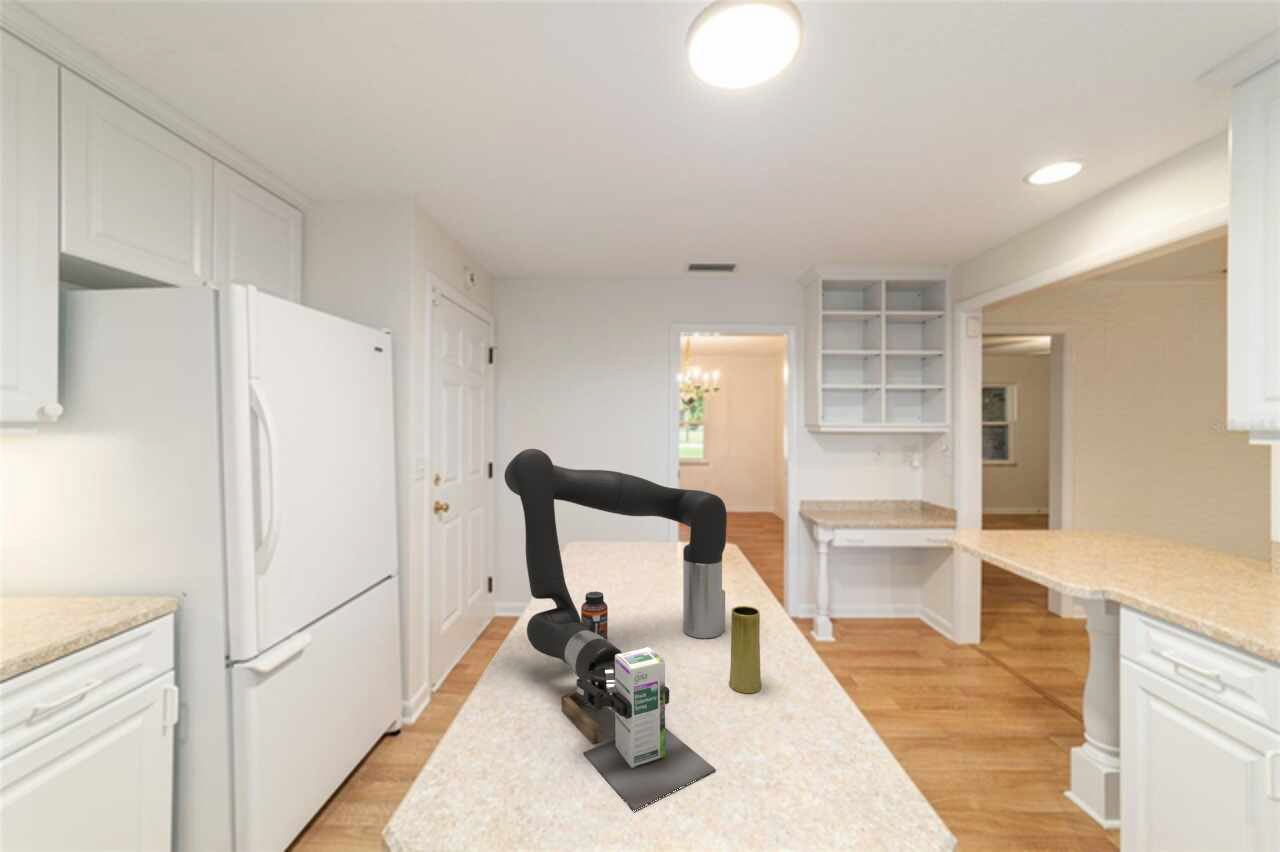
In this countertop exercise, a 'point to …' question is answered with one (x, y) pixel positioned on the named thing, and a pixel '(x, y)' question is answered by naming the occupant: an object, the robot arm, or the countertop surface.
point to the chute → (644, 778)
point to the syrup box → (641, 706)
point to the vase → (745, 650)
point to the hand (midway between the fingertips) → (648, 704)
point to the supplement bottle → (595, 614)
